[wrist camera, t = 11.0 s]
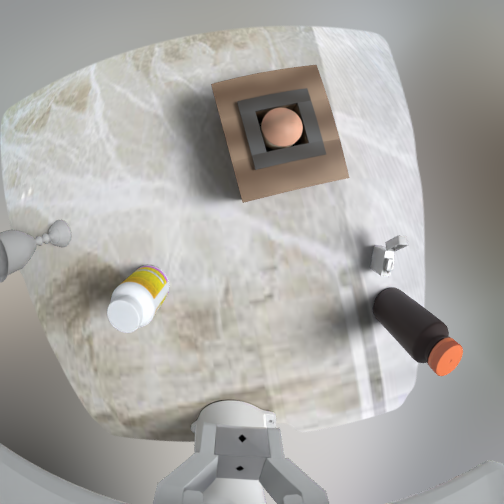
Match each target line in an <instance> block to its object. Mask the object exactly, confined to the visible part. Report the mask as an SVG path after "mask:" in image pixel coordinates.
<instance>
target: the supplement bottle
mask: <svg viewBox="0 0 504 504" xmlns="http://www.w3.org/2000/svg"><path fill="white" fill-rule="evenodd" d="M169 288H170V285H169V280H168V278H167V276H166V274H165V273H164V272H163V271H162V270H161V269H160V268H158V267H156V266H153V265H145V266H142V267H140V268H138V269H137V270H136V271H135V272H134V273H133V274H131V275H130V276H129V277H128V278H127V279H126V280H124V281H123V282H122V283H121V284H120V285H119V286H118V287H117V288H116V289H115V290H114V292H113V294H112V297H111V303H110V304H109V306H108V309H107V316H108V319H109V321H110V323H111V324H112V326H113V327H114V328H116V329H117V330H119V331H121V332H124V333H131V332H133V331H135V330H136V329H137V328H139V327H143V326H145V325H147V324H148V323H149V322H150V321H151V320H152V319H153V317H154V316H155V314H156V312H157V311H158V309H159V308H160V306H161V305H162V303H163V301H164V300H165V298H166V297H167V295H168V293H169Z"/></svg>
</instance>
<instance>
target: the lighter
mask: <svg viewBox="0 0 504 504" xmlns="http://www.w3.org/2000/svg"><path fill="white" fill-rule="evenodd" d="M406 246H408V240H407V236H401V235H399V236H396V237H394V238H393V239H391V240H389V241H387V242H386V247H383V246H380V245H374V248H373V254H372V260H371V266H370V268H371V269H372V270H373V271H375V272H376V273H378V274H379V275H381V276H386V277H389V276H390V273H391V271H392V270H393V265H394V259H393V257H394V251H397V250H399V249H401V248H404V247H406Z"/></svg>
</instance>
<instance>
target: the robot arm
mask: <svg viewBox="0 0 504 504" xmlns="http://www.w3.org/2000/svg"><path fill="white" fill-rule="evenodd" d="M191 431H192V432H193V433H194V434H195V453H194V454H193V455H192V456H191V457H189V458H188V459H187V460H186V461H185V462H183V463H182V464H181V465H180V466H179V467H177V468H176V469H175V470H174V471H173V472H171V473H170V474H169V475H168V476H166V477H165V478H164V479H162V480H161V481H160V482H159V483H158V484H157V489H156V492H155V497H154V501H153V504H267V503H266V499H265V495H264V489H263V487H264V488H265V490H266V491H267V492H268V493H269V494H270V496H271V497H272V498H273V499H274V501H275V502H276V503H277V504H329V501H328V497H327V493H326V491H325V490H324V489H323V488H322V487H321V486H319V485H318V484H317V483H316V482H315V481H314V480H312V479H311V478H310V477H309V476H308V475H307V474H306V473H304V472H303V471H302V470H301V469H300V468H299V467H298V466H297V465H295V464H294V463H293V462H292V461H291V460H290V459H289V458H285V455H284V449H283V443H282V436H281V430H280V429H279V428H276V414H275V413H274V412H271V411H265V410H261V409H259V408H257V407H256V406H254V405H251V404H249V403H246V402H242V401H233V400H228V401H220V402H216V403H213V404H210V405H208V406H207V407H205V408H204V409H203V410H202V411H201V413H200V415H199V417H198V419H197V421H195V422H194V423H192V425H191ZM0 504H129V503H125V502H122V501H118V500H115V499H112V498H109V497H106V496H103V495H101V494H98V493H95V492H93V491H90V490H87V489H85V488H82V487H80V486H78V485H75V484H73V483H71V482H68V481H66V480H64V479H62V478H60V477H58V476H56V475H54V474H52V473H49V472H48V471H46V470H44V469H42V468H40V467H38V466H36V465H35V464H32V463H31V462H29V461H27V460H26V459H24V458H22V457H21V456H19V455H17V454H16V453H14V452H13V451H11V450H10V449H8V448H6V447H5V446H4V445H2V444H1V443H0ZM386 504H504V464H502V463H499V462H495V461H491V460H489V461H485V462H483V463H481V464H480V465H478V466H476V467H474V468H473V469H471V470H469V471H467V472H465V473H463V474H461V475H459V476H457V477H455V478H453V479H451V480H448V481H446V482H444V483H442V484H439V485H437V486H435V487H432V488H430V489H427V490H425V491H422V492H420V493H417V494H414V495H411V496H408V497H406V498H403V499H399V500H396V501H393V502H390V503H386Z"/></svg>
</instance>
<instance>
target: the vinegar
mask: <svg viewBox="0 0 504 504" xmlns="http://www.w3.org/2000/svg"><path fill="white" fill-rule="evenodd" d="M373 313H374V315H375V317H376V319H377V320H378V321H379V322H380V323H381V324H382V325H383V326H384V327H385V328H386V329H387V330H388V331H389V333H390V334H391V335H392V336H393V337H394V338H395V339H396V340H397V341H398V342H399V343H400V344H401V346H402V347H403V348H404V349H405V350H406V351H407V352H408V353H409V354H410V356H411V357H412V358H413V359H414V360H416V361H417V362H419V363H426V362H427V363H428V365H429V366H430V367H431V369H433V371H434V372H435V373H436V374H437V375H438V376H444V375H447V374H448V373H450V372H451V371H452V370H454V369H455V367H456V366H457V365H458V363H459V362H460V360H461V357H462V353H463V350H462V346H461V345H459V344H458V343H457V342H456V341H455V340H454V339H452V338H450V337H448V334H449V332H448V328H447V326H446V325H445V324H444V323H443V322H442V321H441V320H439V319H438V318H437V317H435V316H434V315H433V314H432V313H430V312H429V311H428V310H426V309H425V308H424V307H422V306H421V305H420V304H418V303H417V302H416V301H414V300H413V299H411V298H410V297H409V296H407V295H406V294H405V293H403V292H402V291H401V290H399V289H397V288H388V289H385V290H384V291H382V292H381V293H380V294H379V295H378V296H377V298H376V300H375V302H374V305H373Z"/></svg>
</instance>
